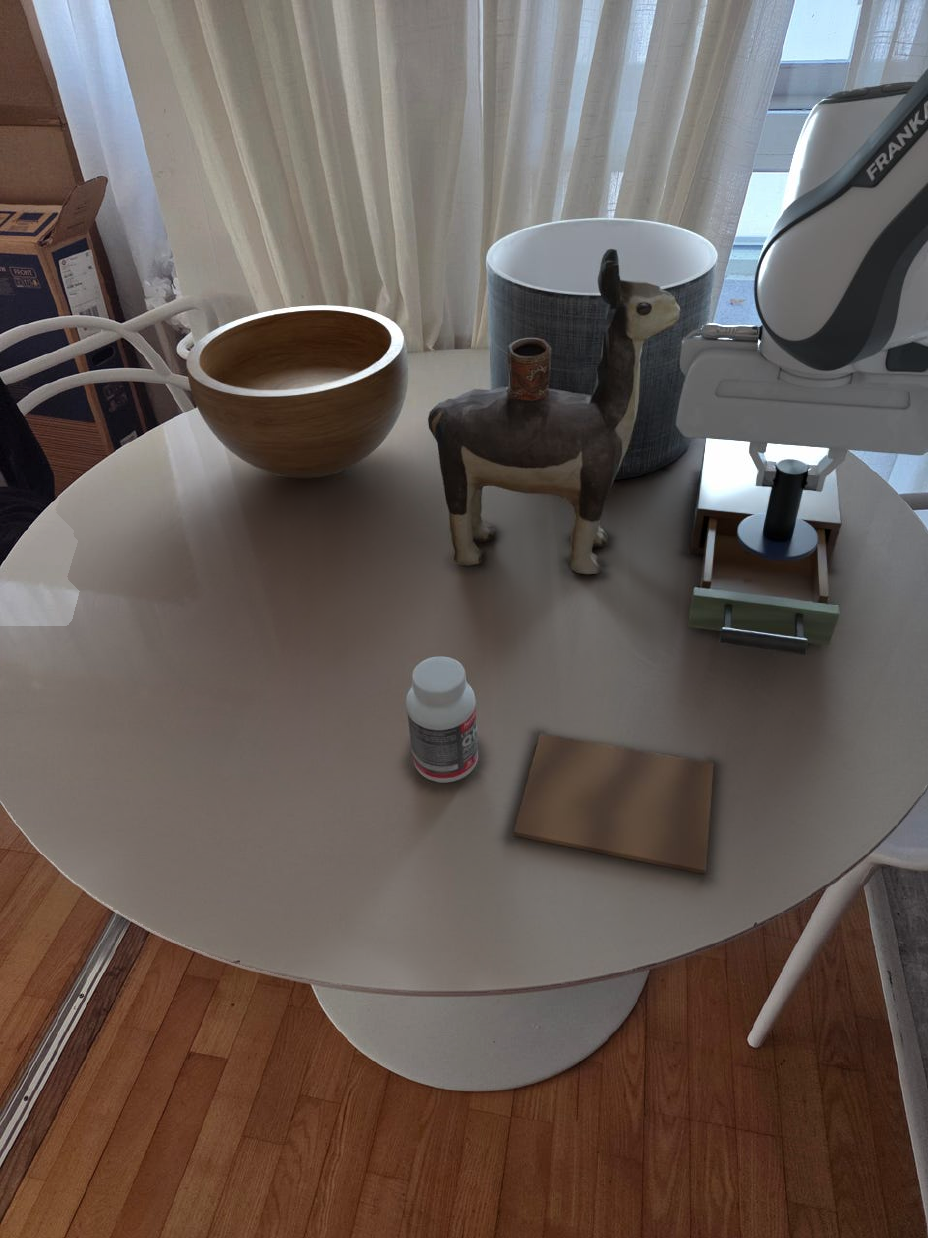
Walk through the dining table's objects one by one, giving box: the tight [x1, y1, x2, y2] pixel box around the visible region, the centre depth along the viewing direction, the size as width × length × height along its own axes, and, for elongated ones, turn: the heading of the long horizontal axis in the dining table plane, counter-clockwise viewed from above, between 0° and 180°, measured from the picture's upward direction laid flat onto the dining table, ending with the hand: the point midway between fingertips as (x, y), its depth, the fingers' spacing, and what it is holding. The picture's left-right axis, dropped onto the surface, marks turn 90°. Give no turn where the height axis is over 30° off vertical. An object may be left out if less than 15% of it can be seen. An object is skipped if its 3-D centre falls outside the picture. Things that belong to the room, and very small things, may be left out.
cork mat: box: [513, 733, 715, 875], centre depth 66 cm, size 14×10×1 cm
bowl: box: [186, 305, 410, 479], centre depth 102 cm, size 25×25×15 cm
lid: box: [737, 459, 818, 561], centre depth 76 cm, size 7×7×8 cm
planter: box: [485, 217, 719, 481], centre depth 103 cm, size 25×25×22 cm
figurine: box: [427, 249, 680, 575], centre depth 82 cm, size 10×23×30 cm, turn 82°
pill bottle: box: [405, 656, 479, 784], centre depth 67 cm, size 5×5×10 cm
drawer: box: [687, 516, 840, 656], centre depth 80 cm, size 19×12×4 cm, turn 165°
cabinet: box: [689, 438, 842, 571], centre depth 92 cm, size 16×14×6 cm
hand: (788, 485), depth 74 cm, fingers closed on lid, 2 cm apart
